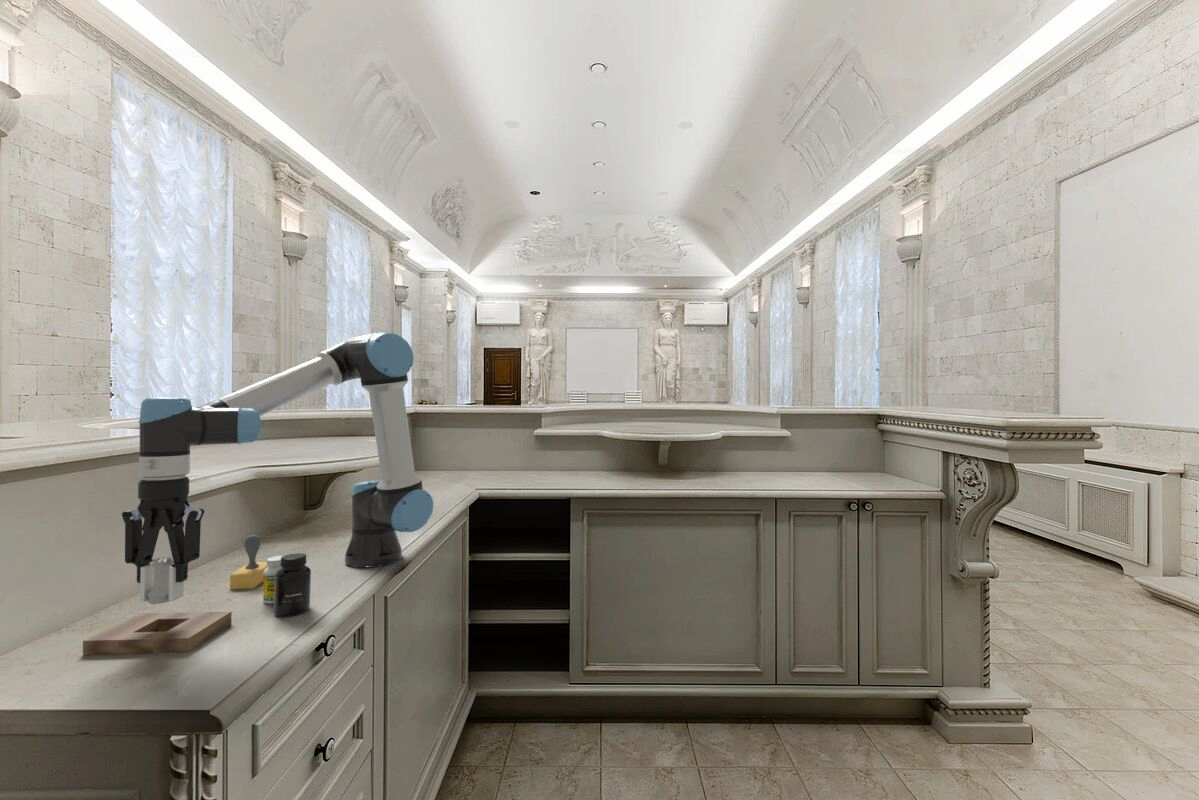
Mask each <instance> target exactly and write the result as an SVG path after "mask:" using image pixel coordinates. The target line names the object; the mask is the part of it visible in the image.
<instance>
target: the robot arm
mask: <svg viewBox="0 0 1199 800" xmlns="http://www.w3.org/2000/svg"><path fill="white" fill-rule="evenodd" d="M414 362H415V361H414V352H413V350H412V347H411V345H410V344H409V342H408V341H407V340H406V339H404V338H403V336H401V335H399V334H397V333H394V332H393V333H392V332H375V333H370V334H363V335H362V334H361V335H355V336H352V337H349V338H348V339H346V340H344V341H342V342H340V343H337V344H335V345H333V346H331V347H329V348H327V349H324V350H323V351H319V352H318V353H317V354H316V358H314V359H311V360H308V361H306V362H304V363H301V364H299V365H297V366H294V367H291V368H289V369H287V370H285V371H283V372H281V373H277V374H275V375H273V376H270V377H268V378H266V379H263V380H260V381H258V382H255V383H254V384H251V385H249V386H245V387H244V388H242V389H239V390H237V391H234V392H232V393H229V394H227V395H225V396H222V397H220V398H218V399H216V400H213V401H211V402H208V403H206V404H203V405H201V406H193V405H192V400H191V399H189V398H187V397H147V398H145V399H143V400H142V402H141V403H140V414H139V420H138V423H139V455H138V458H139V461H138V477H140V478H142V479H140V480H139V481H138V482H137V485H138V486H137V488H138V489H137V498H138V499H139V504H138V506H137V507H136V508H134V509H129V510H126V511H123V512H122V513H121V516H122V519H123V521H124V562H125V563H126V564H133V565H135V567H136V582H137V583H138V584H139V585H140V586H139V602H140V603H144V602H148V601H147V599H149V597H148V593H149V592H150V591H151V588H152V587H153V583H154V573H153V572H154V571H155V568H154V567H153V566H152V564H153V563H154V560H155V559H156V558H155V559H154V558H153V557H154V554H155V549H156V545H157V542H158V537H159V534H160V531H161V529H162V528H163V531H164V532H165V533H166V534H167V539H168V542H169V543H168V544H169V546H170V552H171V557H172V560H173V562H174V563H173V564H172V565H171V567H169V602H174V601H176V600H178V599H181V598H183V597H184V587H185V586H184V583H185V582H186V580H187V579H188V577H189V576H188V574H189V569H188V568H189V563H191V562H194V561H195V560H197V559H199V558H200V555H201V553H200V551H201V526H202V525H201V524H202V519H203V517H204V514H205V509H204V508H199V509H197V508H194V507H191V506H190V503H189V501H188V497H189V494H190V478H189V477H188V476H187V475H189V474H190V472H191V466H190V465H191V462H190V461H191V455H190V454H191V446H200V445H202V446H203V445H230V444H237V445H240V444H245V443H253V442H255V441H257V439H258V438H259V437H260V435H261V434H260V433H261V430H262V421H261V420H262V419H261V417H262V416H264V415H267V414H268V413H270V412H273V411H275V410H277V409H279V408H281V407H283V406H286V405H288V404H290V403H292V402H294V401H297V400H299V399H301V398H303V397H306V396H307V395H309V394H311V393H314V392H317V391H318V390H320V389H322V388H325V387H326V386H329V385H333V386H334V385H335V386H338V385H340V384H342V383H345V382H348V381H350V380H351V381H352V380H357V379H360V384H361V388H362V389H364V390H365V391H367V392H368V394H369V395H368V396H369V401H370V402H369V403H370V409H371V416H372V423H373V428H374V435H375V441H376V450H377V457H378V462H379V464H378V465H379V469H380V470H379V471H380V477H381V479H379V480H378V479H377V480H369V481H362V482H361V481H360V482H357V483H355V484H354V485H353V487H352V493H351V502H352V505H351V507H352V508H351V511H352V512H351V513H352V515H351V537H350V540H349V543H348V545H347V548H346V551H345V555H344V564H345V563H346V564H347V565H346V564H345V565H346V566H348V565H350V566H349V567H351V566H356V567H355V568H367V567H366V566H376V567H380V566H379V565H382V566H386V565H385V564H387V565H390V564H393V562H394V563H396V562H399V560H401V559H402V557H403V552H402V551H403V550H402V547H401V543H400V541H399V538H398V534H397V532H400V533H414V532H417V531H418V530H420V529H422V528H423V527H424V526H425V525H426V524H427V523H428V521H429V519H430V518H431V517H432V514H433V511H434V500H433V497H432V496H431V494H430V493H429V492H428V491H426V490H425V489H424V488H423V487H424V486H423V481H422V480H423V479H422V477H421V476H419V475H418V474H417V473H416V472H415V464H414V456H413V450H412V444H411V437H410V435H411V434H410V430H409V429H410V428H409V421H408V415H407V406H406V400H405V394H404V393H405V392H404V388H405V386H406V385H407V383H408V382H409V378H408V373H409V372H410V371H411V368H412V367H413V365H414ZM143 519H144V520H143ZM184 519H185V522H184ZM389 563H390V564H389ZM184 581H185V582H184Z"/></svg>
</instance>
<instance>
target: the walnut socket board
mask: <svg viewBox="0 0 1199 800" xmlns="http://www.w3.org/2000/svg"><path fill="white" fill-rule="evenodd" d="M230 625H232V611H206V612H204V611H200V612H196V611H195V612H157V613H156V612H155V613H153V612H152V613H149V612H148V613H137V614H135V615H133V616H131V617H128V618H127V619H125V620H122V621H121V622H118V623H117V624H114V625H112V626H110V627H108V628H106V629H104V630H102V631H101V632H99V633H96V634H94V635H92V636H90V637H88V638H86V639H84V640H82V655H83V654H95V655H118V654H119V655H123V654H128V655H129V654H131V655H132V654H157V653H158V654H161V653H163V654H164V653H188V652H190V651H192V650H194V649H195V648H196V647H198V646H200V645H201V644H203V643H204V642H206V641H208V640H209V639H210V638H212V637H214V636H215V635H216V634H218V633H220V632H221V631H222V630H224V629H226V628H227V627H229V626H230Z"/></svg>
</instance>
